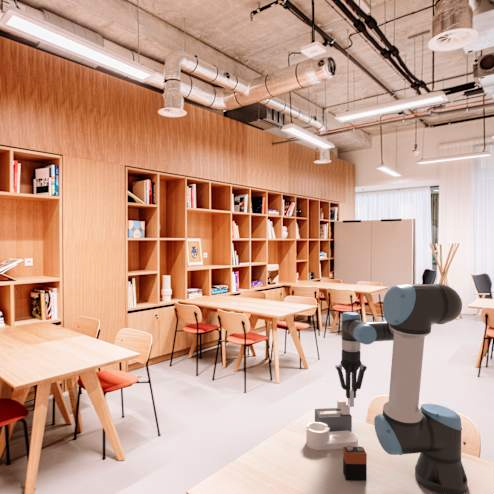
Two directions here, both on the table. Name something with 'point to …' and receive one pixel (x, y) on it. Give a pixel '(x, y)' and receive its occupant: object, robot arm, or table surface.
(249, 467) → the table surface
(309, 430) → the bracket
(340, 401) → the rear tab
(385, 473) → the table surface
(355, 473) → the battery
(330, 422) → the switch box
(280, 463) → the table surface
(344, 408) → the front tab
